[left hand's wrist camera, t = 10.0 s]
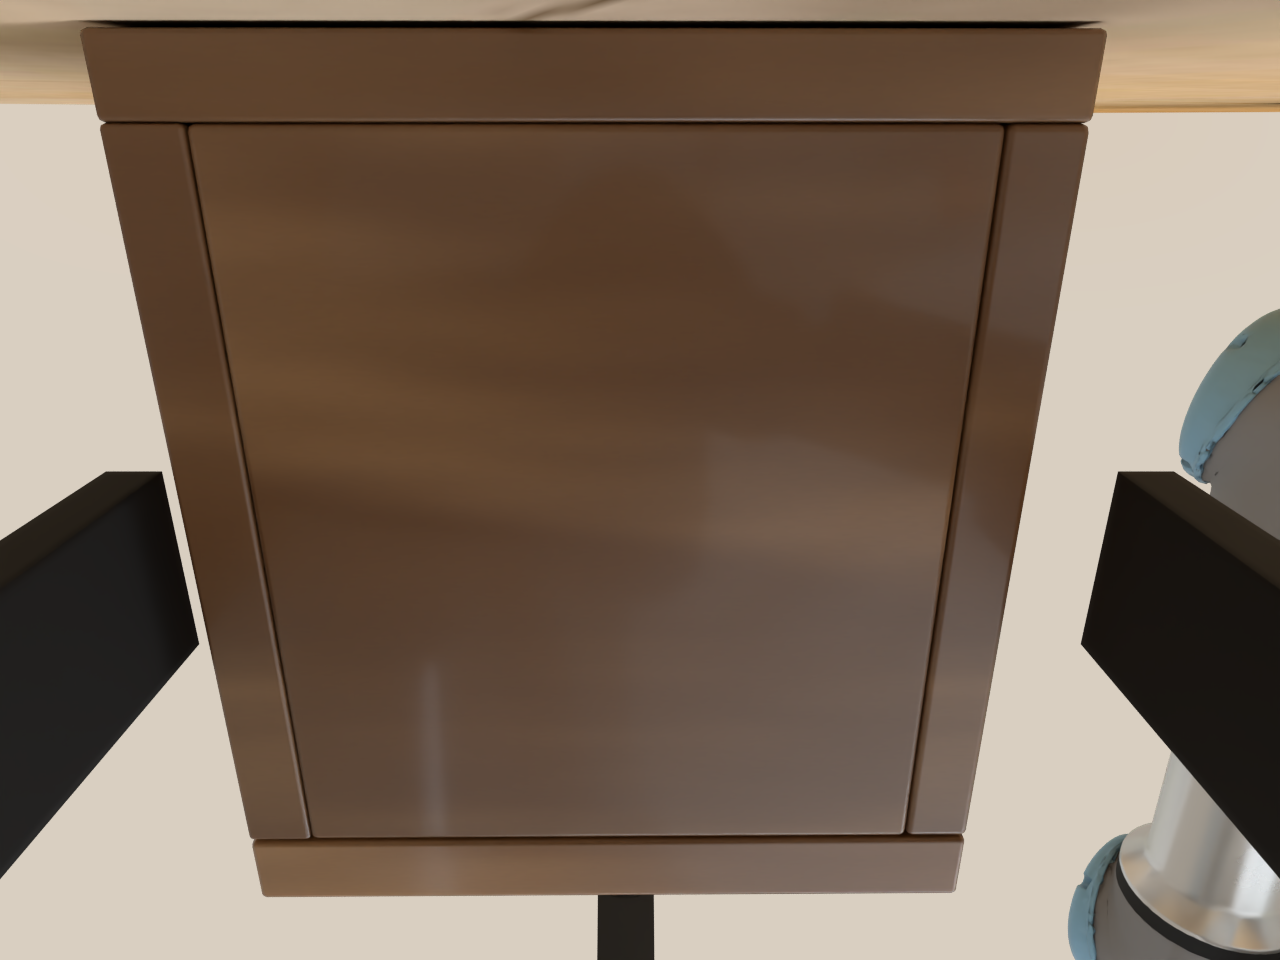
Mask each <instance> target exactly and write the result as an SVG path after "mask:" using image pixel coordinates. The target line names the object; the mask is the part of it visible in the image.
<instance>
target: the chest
mask: <svg viewBox="0 0 1280 960" xmlns="http://www.w3.org/2000/svg"><path fill="white" fill-rule="evenodd" d="M80 36H81V40H82V45H83V50H84V54H85V59H86V64H87V69H88V73H89V78H90V83H91V88H92V92H93V97H94V102H95V106H96V111H97V115H98V117H99V119H100V120H101V121H103V122H106V123H105V124H103V125H101V128H100V131H101V136H102V140H103V145H104V150H105V154H106V159H107V164H108V169H109V174H110V178H111V183H112V188H113V192H114V197H115V202H116V207H117V211H118V216H119V221H120V225H121V230H122V234H123V240H124V244H125V249H126V254H127V259H128V263H129V268H130V273H131V277H132V282H133V287H134V292H135V296H136V301H137V306H138V310H139V315H140V320H141V324H142V329H143V334H144V339H145V344H146V348H147V353H148V358H149V362H150V367H151V372H152V376H153V381H154V386H155V391H156V395H157V400H158V405H159V410H160V414H161V419H162V424H163V429H164V433H165V438H166V443H167V447H168V452H169V457H170V461H171V466H172V471H173V476H174V480H175V485H176V490H177V495H178V499H179V504H180V509H181V514H182V518H183V523H184V528H185V532H186V537H187V542H188V547H189V551H190V556H191V560H192V565H193V570H194V575H195V580H196V584H197V589H198V594H199V599H200V603H201V608H202V613H203V617H204V622H205V627H206V632H207V636H208V641H209V646H210V650H211V655H212V660H213V665H214V669H215V674H216V679H217V684H218V688H219V693H220V697H221V702H222V707H223V712H224V717H225V721H226V726H227V731H228V735H229V740H230V745H231V750H232V754H233V759H234V764H235V769H236V773H237V778H238V783H239V787H240V792H241V797H242V802H243V806H244V811H245V816H246V820H247V825H248V830H249V835H250V837H251V838H252V839H307V838H309V837H311V835H312V834H313V836H314V837H317V838H369V837H541V836H713V835H886V834H901V833H903V832H904V829H906V831H907V832H908V833H910V834H961V833H964V832H965V830H966V824H967V819H968V813H969V807H970V802H971V796H972V791H973V785H974V779H975V774H976V768H977V762H978V756H979V751H980V745H981V740H982V734H983V728H984V723H985V717H986V711H987V705H988V700H989V694H990V688H991V682H992V677H993V671H994V666H995V660H996V654H997V649H998V643H999V637H1000V632H1001V626H1002V620H1003V615H1004V609H1005V603H1006V598H1007V592H1008V586H1009V581H1010V575H1011V569H1012V564H1013V558H1014V552H1015V547H1016V541H1017V535H1018V530H1019V524H1020V518H1021V512H1022V507H1023V501H1024V496H1025V490H1026V484H1027V479H1028V473H1029V467H1030V462H1031V456H1032V450H1033V445H1034V439H1035V433H1036V428H1037V422H1038V416H1039V411H1040V405H1041V399H1042V394H1043V388H1044V382H1045V376H1046V371H1047V365H1048V360H1049V354H1050V348H1051V342H1052V337H1053V331H1054V326H1055V320H1056V314H1057V309H1058V303H1059V297H1060V291H1061V286H1062V280H1063V274H1064V269H1065V263H1066V257H1067V252H1068V246H1069V240H1070V235H1071V229H1072V224H1073V218H1074V212H1075V206H1076V201H1077V195H1078V189H1079V184H1080V178H1081V172H1082V167H1083V161H1084V155H1085V150H1086V144H1087V138H1088V127H1087V126H1086V125H1084V124H1082V123H1085V122H1087V121H1090V120H1091V118H1092V116H1093V111H1094V105H1095V99H1096V94H1097V88H1098V82H1099V77H1100V71H1101V65H1102V60H1103V54H1104V49H1105V43H1106V37H1107V34H1106V31H1105V30H1103V29H1101V28H192V27H87V28H85V29H83V30H81V34H80Z"/></svg>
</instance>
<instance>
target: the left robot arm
mask: <svg viewBox="0 0 1280 960" xmlns="http://www.w3.org/2000/svg"><path fill="white" fill-rule="evenodd" d="M198 645H199V641H198V636H197V632H196V627H195V623H194V618H193V613H192V609H191V604H190V600H189V595H188V590H187V586H186V581H185V576H184V572H183V567H182V562H181V558H180V553H179V549H178V544H177V539H176V535H175V530H174V525H173V521H172V516H171V512H170V507H169V502H168V498H167V493H166V488H165V484H164V479H163V474H162V472H105V473H103V474H102V475H100V476H99V477H97V478H95V479H94V480H92V481H91V482H89V483H88V484H86V485H85V486H83V487H82V488H80V489H79V490H77V491H76V492H74V493H72V494H71V495H69V496H68V497H66V498H65V499H63V500H62V501H60V502H59V503H57V504H56V505H54V506H53V507H51V508H49V509H48V510H46V511H45V512H43V513H42V514H40V515H39V516H37V517H36V518H34V519H33V520H31V521H29V522H28V523H26V524H25V525H23V526H22V527H20V528H19V529H17V530H16V531H14V532H13V533H11V534H10V535H8V536H7V537H5V538H3V539H2V540H0V879H1V877H2V876H3V875H4V874H5V873H6V872H7V870H8V869H9V868H10V867H11V866H12V864H13V863H14V862H15V861H16V860H17V858H18V857H19V856H20V855H21V854H22V853H23V851H24V850H25V849H26V848H27V847H28V846H29V844H30V843H31V842H32V841H33V840H34V838H35V837H36V836H37V835H38V834H39V833H40V831H41V830H42V829H43V828H44V827H45V825H46V824H47V823H48V822H49V821H50V820H51V818H52V817H53V816H54V815H55V814H56V812H57V811H58V810H59V809H60V808H61V807H62V805H63V804H64V803H65V802H66V801H67V800H68V798H69V797H70V796H71V795H72V794H73V792H74V791H75V790H76V789H77V788H78V787H79V785H80V784H81V783H82V782H83V781H84V779H85V778H86V777H87V776H88V775H89V774H90V772H91V771H92V770H93V769H94V768H95V766H96V765H97V764H98V763H99V762H100V760H101V759H102V758H103V757H104V756H105V755H106V753H107V752H108V751H109V750H110V749H111V747H112V746H113V745H114V744H115V743H116V742H117V740H118V739H119V738H120V737H121V736H122V735H123V733H124V732H125V731H126V730H127V729H128V727H129V726H130V725H131V724H132V723H133V722H134V720H135V719H136V718H137V717H138V716H139V714H140V713H141V712H142V711H143V710H144V709H145V707H146V706H147V705H148V704H149V703H150V701H151V700H152V699H153V698H154V697H155V696H156V694H157V693H158V692H159V691H160V690H161V688H162V687H163V686H164V685H165V684H166V683H167V681H168V680H169V679H170V678H171V677H172V675H173V674H174V673H175V672H176V671H177V670H178V668H179V667H180V666H181V665H182V664H183V663H184V661H185V660H186V659H187V658H188V657H189V655H190V654H191V653H192V652H193V651H194V650H195V648H196V647H197V646H198ZM1081 645H1082V646H1083V647H1084V648H1085V650H1086V651H1087V652H1088V653H1089V654H1090V655H1091V657H1092V658H1093V659H1094V660H1095V661H1096V663H1097V664H1098V665H1099V666H1100V667H1101V668H1102V670H1103V671H1104V672H1105V673H1106V674H1107V676H1108V677H1109V678H1110V679H1111V680H1112V681H1113V683H1114V684H1115V685H1116V686H1117V687H1118V689H1119V690H1120V691H1121V692H1122V693H1123V694H1124V696H1125V697H1126V698H1127V699H1128V700H1129V702H1130V703H1131V704H1132V705H1133V706H1134V707H1135V709H1136V710H1137V711H1138V712H1139V713H1140V714H1141V716H1142V717H1143V718H1144V719H1145V720H1146V722H1147V723H1148V724H1149V725H1150V726H1151V727H1152V729H1153V730H1154V731H1155V732H1156V733H1157V735H1158V736H1159V737H1160V738H1161V739H1162V740H1163V742H1164V743H1165V744H1166V745H1167V746H1168V748H1169V749H1170V750H1171V751H1172V752H1173V753H1174V755H1175V756H1176V757H1177V758H1178V759H1179V761H1180V762H1181V763H1182V764H1183V765H1184V766H1185V768H1186V769H1187V770H1188V771H1189V772H1190V774H1191V775H1192V776H1193V777H1194V778H1195V779H1196V781H1197V782H1198V783H1199V784H1200V785H1201V787H1202V788H1203V789H1204V790H1205V791H1206V792H1207V794H1208V795H1209V796H1210V797H1211V798H1212V800H1213V801H1214V802H1215V803H1216V804H1217V805H1218V807H1219V808H1220V809H1221V810H1222V811H1223V812H1224V814H1225V815H1226V816H1227V817H1228V818H1229V820H1230V821H1231V822H1232V823H1233V824H1234V825H1235V827H1236V828H1237V829H1238V830H1239V831H1240V833H1241V834H1242V835H1243V836H1244V837H1245V838H1246V840H1247V841H1248V842H1249V843H1250V844H1251V846H1252V847H1253V848H1254V849H1255V850H1256V851H1257V853H1258V854H1259V855H1260V856H1261V857H1262V859H1263V860H1264V861H1265V862H1266V863H1267V864H1268V866H1269V867H1270V868H1271V869H1272V870H1273V872H1274V873H1275V874H1276V875H1277V876H1278V877H1279V879H1280V540H1278V539H1277V538H1275V537H1274V536H1272V535H1270V534H1269V533H1267V532H1266V531H1264V530H1263V529H1261V528H1260V527H1258V526H1257V525H1255V524H1254V523H1252V522H1251V521H1249V520H1247V519H1246V518H1244V517H1243V516H1241V515H1240V514H1238V513H1237V512H1235V511H1234V510H1232V509H1231V508H1229V507H1228V506H1226V505H1224V504H1223V503H1221V502H1220V501H1218V500H1217V499H1215V498H1214V497H1212V496H1211V495H1209V494H1208V493H1206V492H1204V491H1203V490H1201V489H1200V488H1198V487H1197V486H1195V485H1194V484H1192V483H1191V482H1189V481H1187V480H1186V479H1185V478H1183V477H1181V476H1180V475H1178V474H1177V473H1175V472H1118V474H1117V479H1116V484H1115V488H1114V493H1113V498H1112V502H1111V507H1110V512H1109V516H1108V521H1107V525H1106V530H1105V535H1104V539H1103V544H1102V549H1101V553H1100V558H1099V562H1098V567H1097V572H1096V576H1095V581H1094V586H1093V590H1092V595H1091V599H1090V604H1089V609H1088V613H1087V618H1086V623H1085V627H1084V632H1083V636H1082V641H1081Z"/></svg>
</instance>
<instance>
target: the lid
mask: <svg viewBox="0 0 1280 960" xmlns="http://www.w3.org/2000/svg"><path fill="white" fill-rule="evenodd" d="M963 844H964V838H963V836H962V834H910V833H908V832H907V831H906V829H904V832H903V833H901V834H886V835H713V836H541V837H369V838H317V837H314V836H313V834H312V835H311V837H309V838H307V839H254V841H253V851H254V856H255V861H256V865H257V870H258V875H259V880H260V884H261V889H262V894H263V895H264V896H266V897H342V896H344V897H346V896H503V895H504V896H505V895H661V894H663V895H664V894H823V893H952V892H954V891H955V889H956V884H957V878H958V873H959V867H960V861H961V856H962V850H963Z"/></svg>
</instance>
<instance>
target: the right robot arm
mask: <svg viewBox="0 0 1280 960" xmlns="http://www.w3.org/2000/svg"><path fill="white" fill-rule="evenodd" d="M1179 455H1180V456H1181V458H1182V460H1181V464H1182V466H1183V469H1184V470H1185V471H1186V472H1187V473H1188V474H1189V475H1191V476H1193V477H1194V478H1195V479H1196V480H1197V481H1198V482H1201V483H1205V484H1207V483H1211V486H1212V487H1211V492H1210V495H1211V496H1212V497H1214V498H1215V499H1217V500H1218V501H1220V502H1221V503H1223V504H1224V505H1226V506H1228V507H1229V508H1231V509H1232V510H1234V511H1235V512H1237V513H1238V514H1240V515H1241V516H1243V517H1244V518H1246V519H1247V520H1249V521H1251V522H1252V523H1254V524H1255V525H1257V526H1258V527H1260V528H1261V529H1263V530H1264V531H1266V532H1267V533H1269V534H1270V535H1272V536H1274V537H1275V538H1277V539H1278V540H1280V309H1278V310H1275V311H1273V312H1270V313H1268V314H1266V315H1264V316H1262V317H1261V318H1259V319H1258V320H1256V321H1255V322H1253V323H1252V324H1251V325H1249V326H1248V327H1247V328H1245V329H1244V330H1243V331H1242V332H1241V333H1240V334H1239V335H1238V336H1237V337H1236V338H1235V339H1234V340H1233V341H1232V342H1231V343H1230V344H1229V346H1228V347H1227V348H1226V349H1225V350H1224V351H1223V352H1222V353H1221V355H1220V356H1219V357H1218V359H1217V360H1216V361H1215V362H1214V364H1213V365H1212V367H1211V368H1210V370H1209V371H1208V373H1207V374H1206V376H1205V378H1204V379H1203V381H1202V383H1201V384H1200V386H1199V388H1198V390H1197V392H1196V394H1195V396H1194V398H1193V400H1192V402H1191V404H1190V407H1189V409H1188V412H1187V415H1186V417H1185V420H1184V423H1183V427H1182V430H1181V435H1180V442H1179ZM1068 938H1069V944H1070V948H1071V951H1072V954H1073V956H1074V958H1075V960H1280V879H1279V877H1278V876H1277V875H1276V874H1275V873H1274V872H1273V870H1272V869H1271V868H1270V867H1269V866H1268V864H1267V863H1266V862H1265V861H1264V860H1263V859H1262V857H1261V856H1260V855H1259V854H1258V853H1257V851H1256V850H1255V849H1254V848H1253V847H1252V846H1251V844H1250V843H1249V842H1248V841H1247V840H1246V838H1245V837H1244V836H1243V835H1242V834H1241V833H1240V831H1239V830H1238V829H1237V828H1236V827H1235V825H1234V824H1233V823H1232V822H1231V821H1230V820H1229V818H1228V817H1227V816H1226V815H1225V814H1224V812H1223V811H1222V810H1221V809H1220V808H1219V807H1218V805H1217V804H1216V803H1215V802H1214V801H1213V800H1212V798H1211V797H1210V796H1209V795H1208V794H1207V792H1206V791H1205V790H1204V789H1203V788H1202V787H1201V785H1200V784H1199V783H1198V782H1197V781H1196V779H1195V778H1194V777H1193V776H1192V775H1191V774H1190V772H1189V771H1188V770H1187V769H1186V768H1185V766H1184V765H1183V764H1182V763H1181V762H1180V761H1179V759H1178V758H1177V757H1176V756H1175V755H1174V753H1173V752H1172V751H1171V754H1170V758H1169V761H1168V765H1167V769H1166V773H1165V777H1164V780H1163V784H1162V788H1161V791H1160V795H1159V799H1158V803H1157V806H1156V810H1155V814H1154V818H1153V821H1152V823H1148V824H1145V825H1142V826H1140V827H1137V828H1136V829H1134V830H1132V831H1131V832H1130V833H1129V834H1123V835H1119V836H1117V837H1115V838H1113V839H1112V840H1110V841H1109V842H1108V843H1106V844H1105V845H1104V846H1103V847H1102V848H1101V849H1100V850H1099V851H1098V852H1097V853H1096V855H1095V856H1094V857H1093V859H1092V860H1091V862H1090V863H1089V864H1088V866H1087V868H1086V870H1085V872H1084V880H1083V882H1082V884H1080V885H1078V886H1077V888H1076V890H1075V893H1074V896H1073V899H1072V903H1071V907H1070V912H1069V919H1068ZM597 951H598V953H597V960H654V895H598V950H597Z"/></svg>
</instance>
